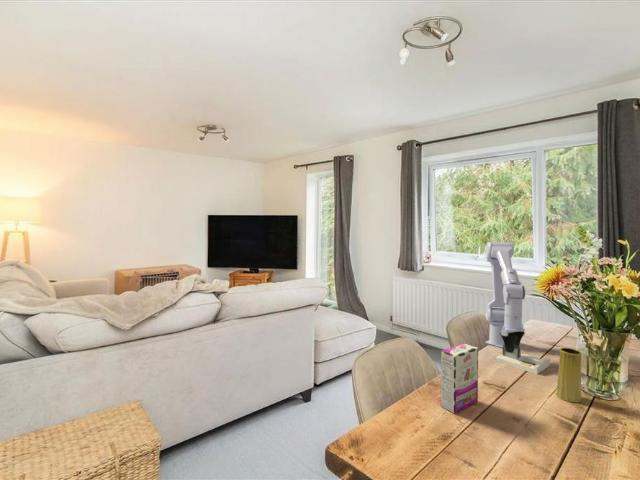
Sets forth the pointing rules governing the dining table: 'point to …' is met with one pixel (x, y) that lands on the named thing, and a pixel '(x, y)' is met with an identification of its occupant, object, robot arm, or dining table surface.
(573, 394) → the vase
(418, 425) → the dining table surface
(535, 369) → the frame
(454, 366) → the candy bar box
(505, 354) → the clip
